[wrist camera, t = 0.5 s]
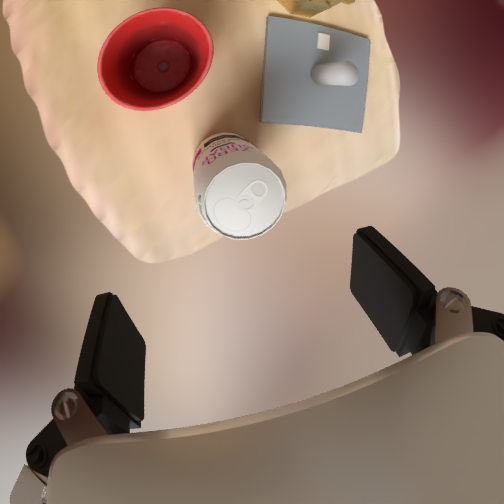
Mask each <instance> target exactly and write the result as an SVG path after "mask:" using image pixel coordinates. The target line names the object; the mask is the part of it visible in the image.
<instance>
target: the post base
mask: <svg viewBox="0 0 504 504" xmlns="http://www.w3.org/2000/svg"><path fill="white" fill-rule="evenodd" d="M369 54H370V40H369V39H366V38H363V37H360V36H357V35H354V34H351V33H348V32H344V31H341V30H337V29H333V28H330V27H326V26H322V25H317V24H313V23H308V22H304V21H298V20H293V19H287V18H281V17H275V16H268V17H267V21H266V37H265V52H264V67H263V82H262V98H261V113H260V122H262V123H279V124H292V125H304V126H314V127H322V128H331V129H338V130H345V131H352V132H358V133H362V126H363V118H364V110H365V101H366V91H367V81H368V69H369Z"/></svg>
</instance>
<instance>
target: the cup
mask: <svg viewBox="0 0 504 504" xmlns="http://www.w3.org/2000/svg"><path fill="white" fill-rule="evenodd" d="M278 1H279V2H280V3H281V4H282V5H283V6H284V7H285V8H286V10H287V11H288V12H289V13H290V14H295V15H300V16H305V17H309V18H310V17H312V16H314V15H316V14H318V13H320V12H322V11H325V10H327V9H329V8H331V7H333V6H334V5H336V4H338V3H340V2H342V3H345V4H348V5H349V4H351V3H354V2H355V0H278Z"/></svg>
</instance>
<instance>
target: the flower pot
mask: <svg viewBox="0 0 504 504" xmlns="http://www.w3.org/2000/svg"><path fill="white" fill-rule="evenodd" d="M212 58H213V42H212V38H211V35H210V33H209V31H208V30H207V28H206V27H205V25H204V24H203V23H202V22H201V21H200V20H199V19H197V18H196V17H195V16H193V15H191V14H189V13H187V12H185V11H182V10H178V9H173V8H154V9H149V10H145V11H142V12H139V13H137V14H135V15H133V16H131V17H129V18H127V19H126V20H124V21H123V22H122V23H120V24H119V25H118V26H117V27H116V28H115V29H114V30H113V31H112V32H111V33H110V35H109V36H108V37H107V39H106V40H105V42H104V44H103V46H102V48H101V51H100V54H99V58H98V65H97V71H98V77H99V81H100V84H101V86H102V88H103V90H104V91H105V93H106V94H107V95H108V96H109V97H110V98H111V99H112V100H113V101H114V102H116V103H117V104H119V105H121V106H123V107H125V108H129V109H132V110H139V111H149V110H157V109H161V108H165V107H168V106H170V105H173V104H175V103H177V102H179V101H181V100H182V99H184V98H185V97H187V96H188V95H189V94H191V93H192V92H193V91H194V90H195V89H196V88H197V87H198V86H199V85H200V84H201V82H202V81H203V80H204V78H205V77H206V75H207V73H208V71H209V69H210V66H211V63H212Z"/></svg>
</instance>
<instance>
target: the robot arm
mask: <svg viewBox="0 0 504 504" xmlns="http://www.w3.org/2000/svg"><path fill="white" fill-rule="evenodd" d="M352 252H353V253H352V267H351V280H350V289H351V292H352V294H353V295H354V297H355V298H356V300H357V301H358V302H359V304H360V305H361V307H362V308H363V310H364V311H365V312H366V314H367V315H368V317H369V318H370V320H371V321H372V323H373V324H374V325H375V327H376V328H377V330H378V331H379V333H380V334H381V335H382V337H383V339H384V340H385V342H386V343H387V345H388V346H389V348H390V349H391V351H393V352H395V351H396V353H397V354H398V356H399V357H401V356H403V355H405V354H407V353H409V352H411V354H412V356H410V357H408V358H406V359H404V360H402V361H400V362H397V363H395V364H393V365H391V366H389V367H386V368H384V369H382V370H380V371H378V372H375V373H373V374H371V375H369V376H366V377H364V378H361V379H359V380H357V381H354V382H352V383H349V384H346V385H344V386H341V387H339V388H336V389H333V390H330V391H328V392H325V393H322V394H320V395H317V396H313V397H310V398H307V399H305V400H301V401H298V402H295V403H291V404H288V405H285V406H281V407H278V408H274V409H270V410H267V411H263V412H259V413H255V414H251V415H246V416H242V417H238V418H233V419H229V420H224V421H218V422H213V423H208V424H202V425H196V426H189V427H183V428H175V429H167V430H158V431H149V432H138V433H130V429H134V428H141V421H142V420H143V419H144V379H145V354H146V345H145V341H144V339H143V337H142V336H141V335H140V333H139V331H138V330H137V328H136V327H135V325H134V323H133V322H132V320H131V318H130V317H129V315H128V314H127V312H126V310H125V309H124V307H123V305H122V304H121V302H120V300H119V298H118V297H117V295H113V294H112V293H110V292H108V293H104V294H100V295H97V296H96V298H95V301H94V304H93V308H92V311H91V315H90V318H89V322H88V325H87V329H86V333H85V336H84V340H83V345H82V349H81V353H80V357H79V361H78V366H77V371H76V376H75V381H74V383H75V387H74V389H71V388H67V389H64V390H62V391H61V392H59V393H58V394H57V395H56V397H55V398H54V400H53V402H52V406H51V413H52V416H53V419H52V421H51V422H50V423H49V424H48V425H47V426H46V427H45V428H44V429H43V430H42V431H41V432H40V433H39V434H38V435H37V436H36V437H35V438H34V439H33V440H32V441H31V442H30V444H29V445H28V447H27V450H26V459H27V463H28V466H27V465H25V464H24V467H23V468H22V471H21V472H20V475H19V477H18V479H17V481H16V483H15V485H14V488H13V490H12V492H11V495H10V504H504V314H502V313H498V312H494V311H489V310H485V309H481V308H477V307H473V306H471V303H470V300H469V298H468V297H467V295H466V294H465V293H463V292H462V291H460V290H459V289H456V288H451V287H450V288H449V287H447V288H443V289H442V290H440V291H439V292H437V291H436V290H435V286H434V285H433V284H432V283H431V282H430V281H429V280H428V278H426V277H425V275H424V274H423V273H422V272H421V271H420V270H419V269H418V268H416V266H415V265H413V264H412V263H411V262H410V261H409V260H408V259H407V258H406V257H405V256H404V255H403V254H402V253H401V252H400V251H399V250H398V249H397V248H396V247H395V246H394V245H392V244H391V243H390V242H389V241H388V240H387V239H386V238H385V237H384V236H382V235H381V234H380V233H379V232H378V231H377V230H376V229H375V228H374V227H372V226H368V227H364V228H360V229H358V230H357V232H356V234H354V236H353V251H352Z"/></svg>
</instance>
